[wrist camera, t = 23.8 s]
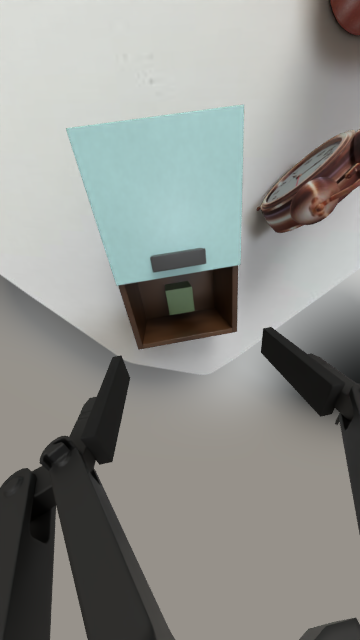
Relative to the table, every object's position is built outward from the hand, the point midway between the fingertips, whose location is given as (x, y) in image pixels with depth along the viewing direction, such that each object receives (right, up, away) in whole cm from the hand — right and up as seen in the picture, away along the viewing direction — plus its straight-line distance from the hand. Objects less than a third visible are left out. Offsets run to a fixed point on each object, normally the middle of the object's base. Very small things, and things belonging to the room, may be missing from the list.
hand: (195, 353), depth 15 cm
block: (-2, +8, +17) cm, 19 cm away
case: (-2, +10, +17) cm, 20 cm away
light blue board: (-3, +15, +3) cm, 16 cm away
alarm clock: (+15, +23, +13) cm, 31 cm away
